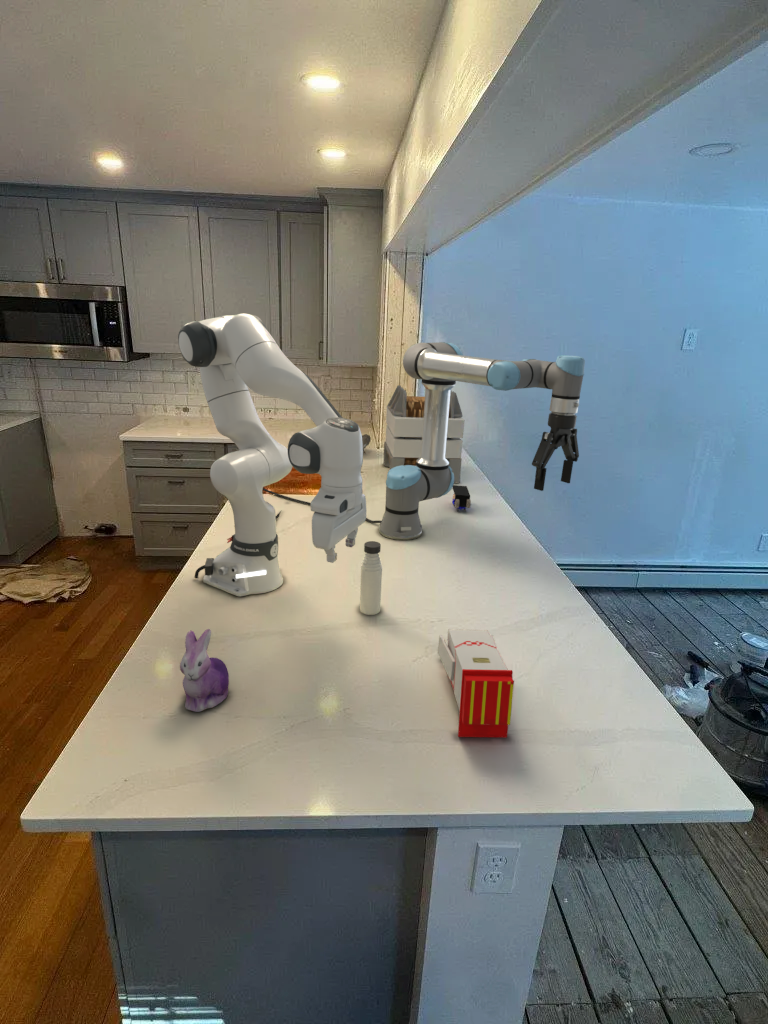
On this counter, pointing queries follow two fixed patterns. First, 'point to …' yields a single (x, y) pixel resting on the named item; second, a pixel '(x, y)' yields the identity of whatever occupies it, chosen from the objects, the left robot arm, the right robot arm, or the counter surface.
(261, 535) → the left robot arm
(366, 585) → the bottle
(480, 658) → the toy
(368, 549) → the cap
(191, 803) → the counter surface
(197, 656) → the figurine
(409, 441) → the gray slatted crate
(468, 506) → the figurine character
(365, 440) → the fossil
